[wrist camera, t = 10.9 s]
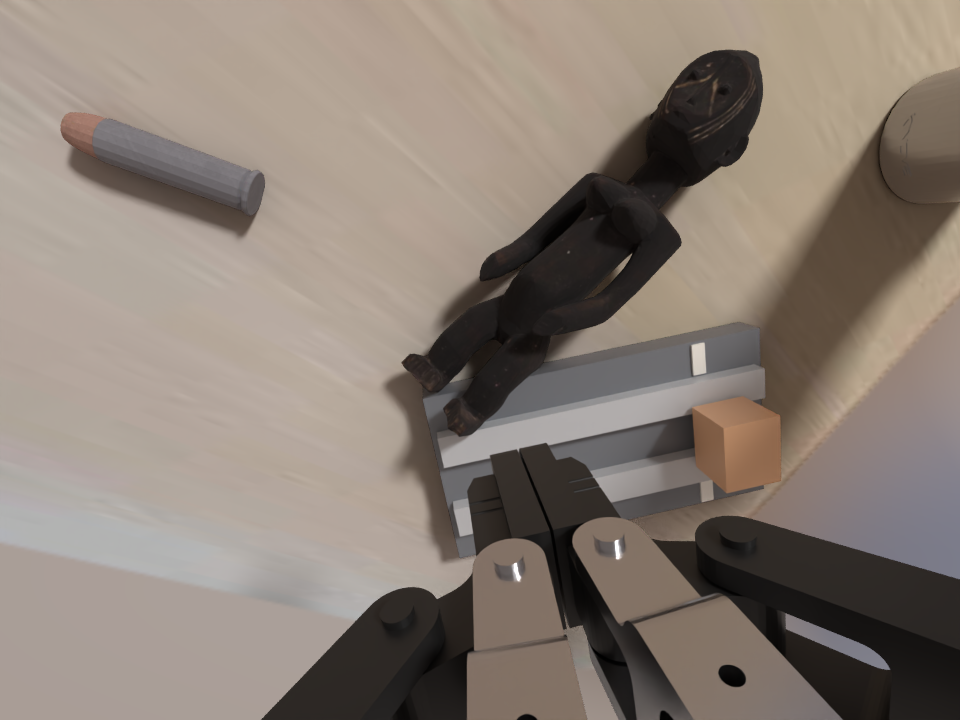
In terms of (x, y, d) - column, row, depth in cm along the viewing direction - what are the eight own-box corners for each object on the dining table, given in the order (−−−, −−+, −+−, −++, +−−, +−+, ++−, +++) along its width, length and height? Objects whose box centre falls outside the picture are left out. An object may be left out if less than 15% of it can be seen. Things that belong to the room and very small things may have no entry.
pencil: (269, 174, 33) (253, 168, 30) (258, 217, 33) (242, 215, 31) (91, 108, 31) (56, 95, 28) (83, 155, 31) (48, 147, 28)
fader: (733, 390, 37) (780, 415, 32) (735, 448, 39) (781, 480, 34) (683, 401, 37) (723, 428, 32) (688, 459, 38) (726, 493, 33)
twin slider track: (739, 321, 39) (770, 331, 35) (744, 474, 43) (773, 496, 39) (423, 388, 38) (422, 404, 34) (458, 539, 41) (460, 568, 38)
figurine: (395, 342, 37) (384, 375, 29) (700, 48, 33) (784, -8, 25) (467, 412, 39) (476, 460, 31) (761, 141, 35) (857, 117, 27)
